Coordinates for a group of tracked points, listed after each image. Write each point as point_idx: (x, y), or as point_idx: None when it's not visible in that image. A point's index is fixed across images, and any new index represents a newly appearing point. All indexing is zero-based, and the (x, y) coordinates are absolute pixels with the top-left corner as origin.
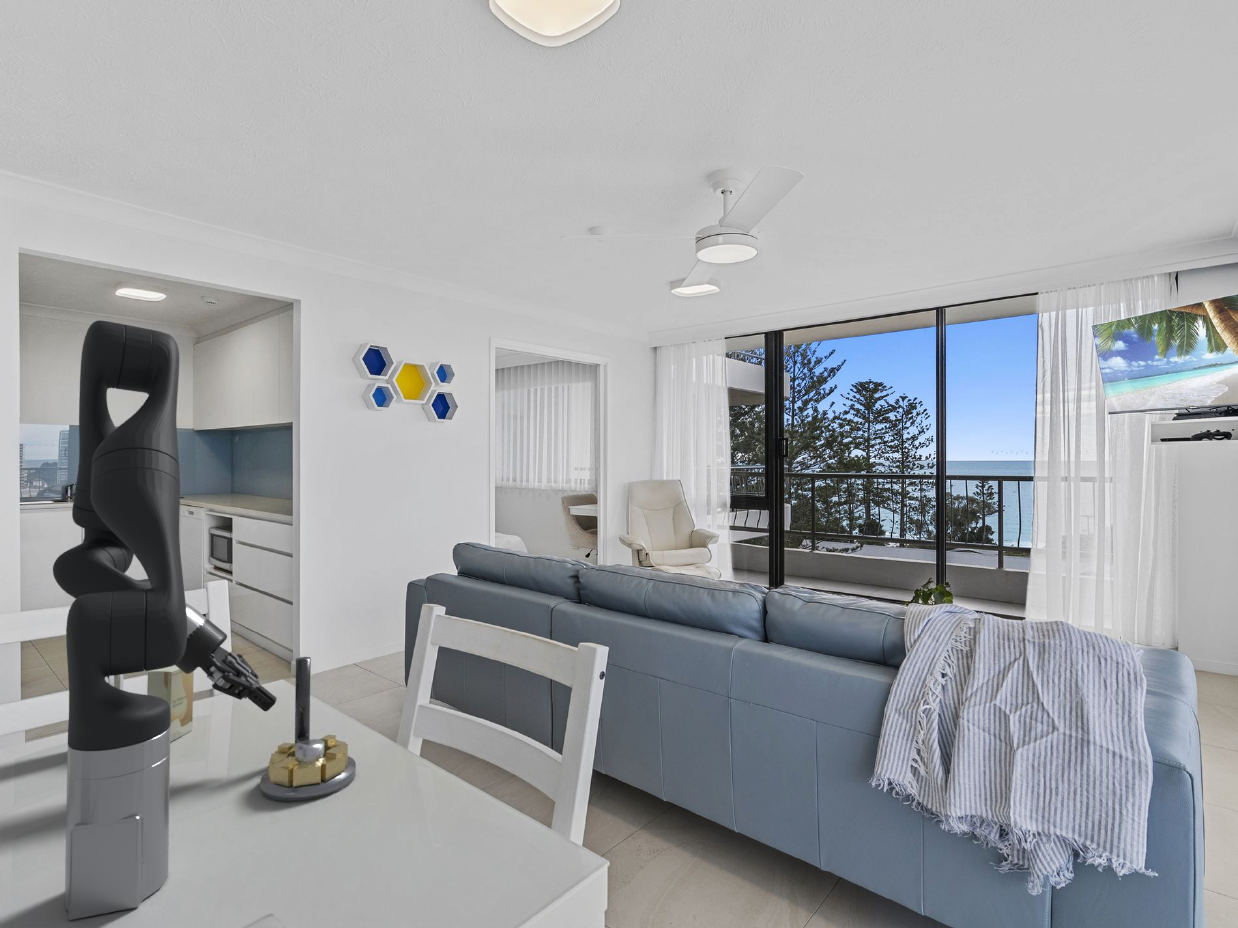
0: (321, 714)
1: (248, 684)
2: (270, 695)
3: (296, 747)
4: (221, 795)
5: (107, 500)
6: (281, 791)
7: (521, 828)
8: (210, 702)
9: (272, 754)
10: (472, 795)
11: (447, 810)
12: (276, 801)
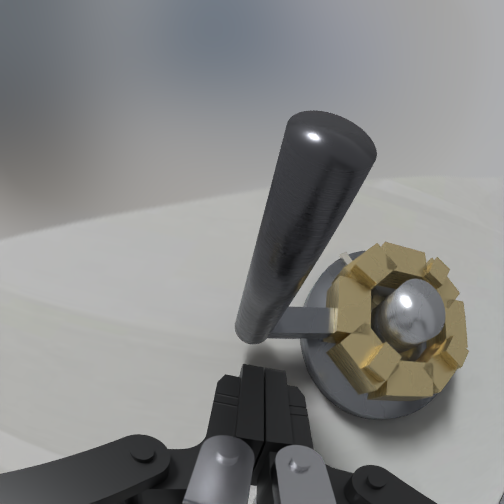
0: (28, 249)
1: (395, 491)
2: (273, 388)
3: (429, 336)
4: None
5: None
6: None
7: (494, 182)
8: None
9: (392, 393)
10: (452, 179)
11: (475, 208)
12: None
